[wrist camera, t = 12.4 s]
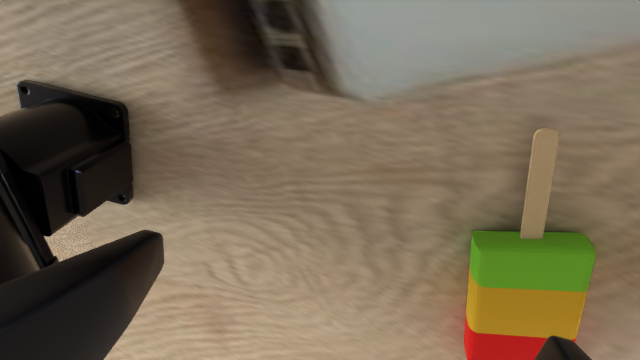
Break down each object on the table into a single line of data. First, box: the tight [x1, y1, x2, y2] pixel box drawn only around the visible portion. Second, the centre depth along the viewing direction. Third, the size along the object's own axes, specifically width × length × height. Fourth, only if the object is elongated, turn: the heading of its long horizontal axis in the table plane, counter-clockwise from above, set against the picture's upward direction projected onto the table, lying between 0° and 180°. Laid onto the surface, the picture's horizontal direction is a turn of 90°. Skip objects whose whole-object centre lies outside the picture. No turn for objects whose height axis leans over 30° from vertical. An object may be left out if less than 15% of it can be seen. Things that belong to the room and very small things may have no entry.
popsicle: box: [464, 128, 596, 360], centre depth 21 cm, size 6×15×2 cm, turn 6°
